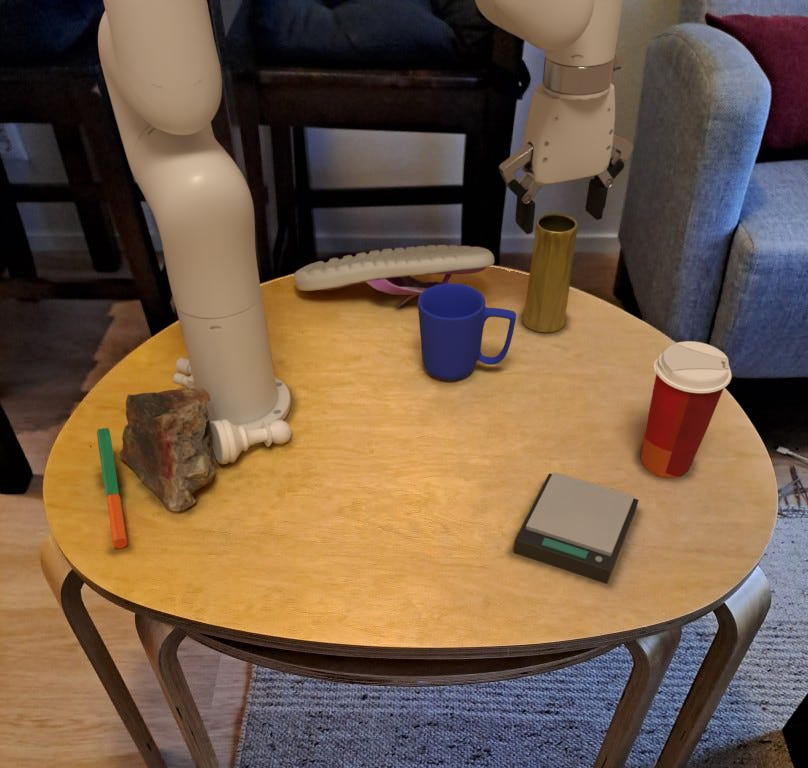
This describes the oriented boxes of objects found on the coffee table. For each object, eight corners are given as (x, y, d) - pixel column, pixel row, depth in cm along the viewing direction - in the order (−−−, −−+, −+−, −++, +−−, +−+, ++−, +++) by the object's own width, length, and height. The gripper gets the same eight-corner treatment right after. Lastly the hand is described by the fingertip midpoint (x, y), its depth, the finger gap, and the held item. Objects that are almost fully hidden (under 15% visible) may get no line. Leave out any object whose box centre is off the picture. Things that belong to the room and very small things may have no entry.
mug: (506, 394, 102) (513, 325, 95) (412, 383, 104) (411, 315, 96) (513, 357, 108) (520, 289, 100) (423, 347, 109) (424, 279, 102)
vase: (518, 330, 112) (529, 231, 101) (525, 306, 116) (536, 209, 105) (563, 336, 111) (578, 236, 100) (567, 312, 115) (583, 214, 104)
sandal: (492, 232, 116) (497, 283, 120) (298, 258, 121) (308, 307, 124) (493, 250, 105) (497, 305, 109) (279, 278, 110) (290, 330, 113)
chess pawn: (225, 454, 90) (301, 441, 93) (212, 413, 91) (288, 401, 94) (218, 471, 94) (291, 457, 98) (206, 431, 95) (279, 419, 99)
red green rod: (109, 452, 95) (94, 453, 94) (107, 416, 90) (90, 417, 89) (131, 558, 87) (114, 560, 87) (129, 525, 82) (112, 527, 82)
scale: (513, 552, 84) (515, 535, 82) (546, 486, 91) (549, 468, 89) (607, 584, 81) (611, 567, 79) (635, 512, 88) (639, 495, 86)
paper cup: (700, 446, 95) (735, 344, 85) (698, 490, 90) (734, 387, 80) (633, 434, 97) (658, 333, 86) (627, 477, 92) (653, 375, 81)
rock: (227, 395, 94) (151, 360, 87) (250, 471, 87) (170, 439, 80) (168, 464, 99) (92, 436, 92) (185, 541, 92) (104, 517, 85)
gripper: (628, 52, 94) (605, 197, 107) (492, 74, 91) (484, 221, 103) (663, 73, 90) (634, 222, 102) (521, 97, 86) (509, 248, 99)
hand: (559, 222), depth 103 cm, fingers open, 9 cm apart
